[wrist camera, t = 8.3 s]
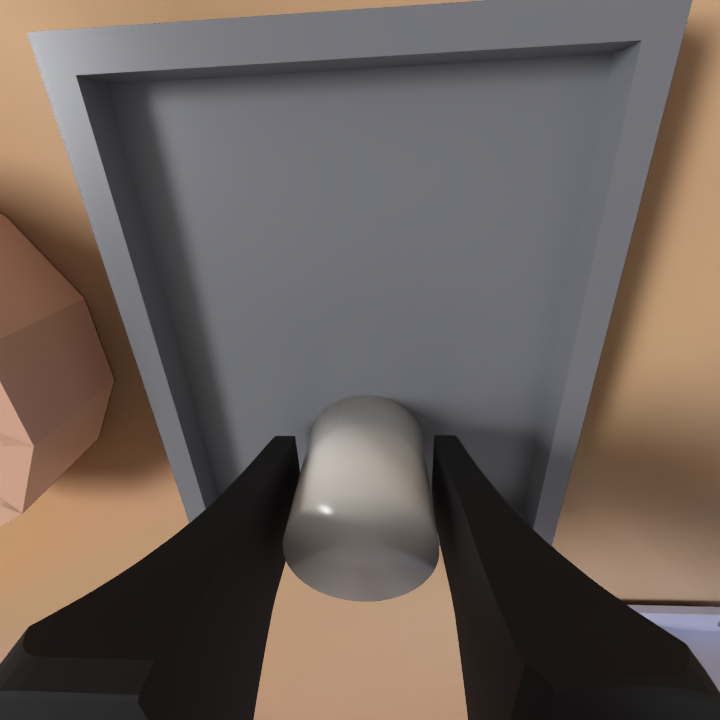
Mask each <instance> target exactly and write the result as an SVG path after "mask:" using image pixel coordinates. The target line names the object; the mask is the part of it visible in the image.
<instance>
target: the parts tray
mask: <svg viewBox="0 0 720 720" xmlns="http://www.w3.org/2000/svg"><path fill="white" fill-rule="evenodd" d="M691 4H692V0H485V1H470V2H456V3H441V4H427V5H412V6H398V7H384V8H369V9H355V10H340V11H326V12H312V13H297V14H283V15H268V16H254V17H239V18H225V19H211V20H196V21H182V22H167V23H153V24H139V25H124V26H110V27H95V28H81V29H66V30H52V31H38V32H27V34H28V37H29V40H30V43H31V46H32V49H33V52H34V55H35V58H36V61H37V64H38V67H39V70H40V73H41V76H42V79H43V82H44V85H45V88H46V91H47V94H48V98H49V101H50V104H51V107H52V110H53V113H54V116H55V119H56V122H57V125H58V128H59V131H60V134H61V137H62V140H63V143H64V146H65V149H66V152H67V155H68V158H69V161H70V164H71V167H72V170H73V173H74V176H75V179H76V182H77V185H78V188H79V191H80V194H81V197H82V200H83V203H84V206H85V209H86V212H87V215H88V218H89V221H90V224H91V227H92V230H93V233H94V236H95V239H96V242H97V245H98V248H99V251H100V254H101V257H102V260H103V263H104V266H105V270H106V273H107V276H108V279H109V282H110V285H111V288H112V291H113V294H114V297H115V300H116V303H117V306H118V309H119V312H120V315H121V318H122V321H123V324H124V327H125V330H126V333H127V336H128V339H129V342H130V345H131V348H132V351H133V354H134V357H135V360H136V363H137V366H138V369H139V372H140V375H141V378H142V381H143V384H144V387H145V390H146V393H147V396H148V399H149V402H150V405H151V408H152V411H153V414H154V417H155V420H156V423H157V426H158V429H159V432H160V435H161V438H162V441H163V445H164V448H165V451H166V454H167V457H168V460H169V463H170V466H171V469H172V472H173V475H174V478H175V481H176V484H177V487H178V490H179V493H180V496H181V499H182V502H183V505H184V508H185V511H186V514H187V517H188V520H189V523H190V522H192V521H193V520H194V519H195V518H196V517H197V516H199V515H200V514H201V513H202V512H203V511H204V510H205V509H206V508H207V507H208V506H209V505H210V504H212V503H213V502H214V501H215V500H216V499H217V498H218V497H219V496H220V495H221V494H222V493H223V492H224V491H225V490H226V489H227V488H228V487H229V486H230V485H231V484H232V483H233V482H234V481H235V480H236V479H237V477H238V476H239V475H240V474H241V473H242V472H243V471H244V470H245V469H246V468H247V467H248V466H249V465H250V463H251V462H252V461H253V460H254V459H255V458H256V457H257V456H258V454H259V453H260V452H261V451H262V450H263V449H264V448H265V446H266V445H267V444H268V443H269V442H270V441H271V440H272V439H273V438H274V437H275V436H295V438H296V446H297V453H298V460H299V467H300V472H301V468H302V464H303V460H304V457H305V453H306V449H307V445H308V441H309V437H310V433H311V430H312V426H313V424H314V422H315V420H316V418H317V417H318V415H319V414H320V413H321V412H322V411H323V410H324V409H325V408H327V407H328V406H329V405H331V404H332V403H334V402H336V401H338V400H341V399H343V398H347V397H351V396H356V395H373V396H379V397H383V398H387V399H389V400H392V401H394V402H396V403H398V404H400V405H401V406H403V407H404V408H405V409H407V410H408V411H409V412H410V413H411V414H412V415H413V417H414V418H415V419H416V421H417V422H418V424H419V426H420V429H421V432H422V437H423V444H424V450H425V457H426V464H427V471H428V477H429V484H430V491H431V498H432V488H431V486H432V468H433V449H434V435H456V436H457V437H458V438H459V440H460V441H461V443H462V444H463V446H464V447H465V449H466V450H467V452H468V453H469V455H470V456H471V458H472V459H473V460H474V462H475V463H476V464H477V466H478V467H479V468H480V470H481V471H482V472H483V474H484V475H485V476H486V477H487V479H488V480H489V481H490V482H491V484H492V485H493V486H494V487H495V488H496V490H497V491H498V492H499V493H500V494H501V496H502V497H503V498H504V499H505V500H506V501H507V502H508V503H509V505H510V506H511V507H512V508H513V509H514V510H515V511H516V512H517V513H518V514H519V515H520V516H521V517H522V518H523V520H524V521H525V522H526V523H527V524H528V525H529V526H530V527H531V528H532V529H534V530H535V531H536V532H537V533H538V534H539V535H540V536H541V537H542V538H543V539H544V540H545V541H546V542H547V543H548V544H550V545H551V546H552V542H553V538H554V534H555V530H556V527H557V523H558V519H559V515H560V511H561V507H562V503H563V499H564V496H565V492H566V488H567V484H568V480H569V476H570V472H571V469H572V465H573V461H574V457H575V453H576V449H577V445H578V441H579V438H580V434H581V430H582V426H583V422H584V418H585V414H586V410H587V407H588V403H589V399H590V395H591V391H592V387H593V383H594V379H595V376H596V372H597V368H598V364H599V360H600V356H601V352H602V348H603V345H604V341H605V337H606V333H607V329H608V325H609V321H610V317H611V314H612V310H613V306H614V302H615V298H616V294H617V290H618V287H619V283H620V279H621V275H622V271H623V267H624V263H625V259H626V256H627V252H628V248H629V244H630V240H631V236H632V232H633V228H634V225H635V221H636V217H637V213H638V209H639V205H640V201H641V197H642V194H643V190H644V186H645V182H646V178H647V174H648V170H649V166H650V163H651V159H652V155H653V151H654V147H655V143H656V139H657V136H658V132H659V128H660V124H661V120H662V116H663V112H664V108H665V105H666V101H667V97H668V93H669V89H670V85H671V81H672V77H673V74H674V70H675V66H676V62H677V58H678V54H679V50H680V46H681V43H682V39H683V35H684V31H685V27H686V23H687V19H688V15H689V12H690V8H691ZM432 504H433V498H432ZM433 511H434V508H433ZM434 518H435V516H434ZM435 525H436V523H435ZM436 532H437V528H436ZM437 538H438V545H440V541H439V537H438V532H437Z"/></svg>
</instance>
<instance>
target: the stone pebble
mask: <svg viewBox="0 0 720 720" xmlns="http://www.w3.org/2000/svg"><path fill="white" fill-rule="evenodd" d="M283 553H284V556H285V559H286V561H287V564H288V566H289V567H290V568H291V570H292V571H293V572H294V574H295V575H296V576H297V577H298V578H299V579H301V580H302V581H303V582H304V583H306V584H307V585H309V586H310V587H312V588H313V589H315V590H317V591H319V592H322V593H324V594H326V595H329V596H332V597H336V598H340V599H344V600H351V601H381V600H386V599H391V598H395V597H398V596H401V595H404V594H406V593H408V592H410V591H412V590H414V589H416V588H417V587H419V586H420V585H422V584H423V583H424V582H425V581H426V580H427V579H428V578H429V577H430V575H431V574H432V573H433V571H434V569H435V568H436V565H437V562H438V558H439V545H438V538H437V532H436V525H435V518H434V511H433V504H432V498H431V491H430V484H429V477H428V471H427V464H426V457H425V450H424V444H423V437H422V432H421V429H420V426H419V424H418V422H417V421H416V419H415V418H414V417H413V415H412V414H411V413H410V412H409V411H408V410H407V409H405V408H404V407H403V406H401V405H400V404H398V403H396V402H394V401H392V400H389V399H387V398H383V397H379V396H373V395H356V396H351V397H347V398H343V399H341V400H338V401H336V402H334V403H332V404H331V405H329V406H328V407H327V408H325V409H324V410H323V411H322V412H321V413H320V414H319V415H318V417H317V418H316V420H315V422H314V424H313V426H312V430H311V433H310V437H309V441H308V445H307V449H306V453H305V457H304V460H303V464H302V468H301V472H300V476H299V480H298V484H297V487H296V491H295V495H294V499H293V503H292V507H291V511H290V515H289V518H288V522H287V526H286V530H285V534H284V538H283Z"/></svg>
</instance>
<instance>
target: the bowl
mask: <svg viewBox="0 0 720 720" xmlns="http://www.w3.org/2000/svg"><path fill="white" fill-rule="evenodd" d="M113 382H114V377H113V375H112V372H111V369H110V367H109V364H108V361H107V358H106V356H105V353H104V350H103V348H102V345H101V342H100V339H99V337H98V334H97V331H96V328H95V326H94V323H93V320H92V318H91V315H90V312H89V309H88V307H87V304H86V301H85V299H84V298H83V297H82V296H81V295H80V294H79V292H78V291H77V290H76V289H75V288H74V287H73V286H72V285H71V284H70V283H69V282H68V281H67V280H66V279H65V278H64V277H63V276H62V275H61V274H60V273H59V272H58V271H57V269H56V268H55V267H54V266H53V265H52V264H51V263H50V262H49V261H48V260H47V259H46V258H45V257H44V256H43V255H42V254H41V253H40V252H39V251H38V250H37V249H36V247H35V246H34V245H33V244H32V243H31V242H30V241H29V240H28V239H27V238H26V237H25V236H24V235H23V234H22V233H21V232H20V231H19V230H18V229H17V228H16V227H15V225H14V224H13V223H12V222H11V221H10V220H9V219H8V218H7V217H6V216H4V215H2V214H0V526H2V525H3V524H5V523H7V522H8V521H10V520H12V519H14V518H15V517H17V516H19V515H21V514H22V513H23V512H24V511H25V510H26V509H27V508H28V507H30V506H31V505H32V504H33V503H34V502H35V501H36V500H37V499H38V498H39V497H40V496H41V495H42V494H43V493H44V492H45V491H46V490H47V489H48V488H49V487H50V486H51V485H52V484H53V483H54V482H55V481H56V480H57V479H58V478H59V477H60V476H61V475H62V474H63V473H64V472H65V471H66V470H67V469H68V468H69V467H70V466H71V465H72V464H73V463H74V462H75V461H76V460H77V459H78V458H79V457H80V456H81V455H82V454H83V453H84V452H85V451H86V450H87V449H88V448H89V447H90V446H91V445H92V444H93V443H94V442H95V441H96V440H97V439H98V438H99V435H100V431H101V427H102V424H103V420H104V416H105V412H106V409H107V405H108V401H109V397H110V394H111V390H112V386H113Z"/></svg>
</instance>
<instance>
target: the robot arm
mask: <svg viewBox="0 0 720 720" xmlns="http://www.w3.org/2000/svg"><path fill="white" fill-rule="evenodd" d="M299 476H300V467H299V460H298V453H297V446H296V438H295V436H275V437H274V438H273V439H272V440H271V441H270V442H269V443H268V444H267V445H266V446H265V448H264V449H263V450H262V451H261V452H260V453H259V454H258V456H257V457H256V458H255V459H254V460H253V461H252V462H251V463H250V465H249V466H248V467H247V468H246V469H245V470H244V471H243V472H242V473H241V474H240V475H239V476H238V477H237V479H236V480H235V481H234V482H233V483H232V484H231V485H230V486H229V487H228V488H227V489H226V490H225V491H224V492H223V493H222V494H221V495H220V496H219V497H218V498H217V499H216V500H215V501H214V502H213V503H212V504H210V505H209V506H208V507H207V508H206V509H205V510H204V511H203V512H202V513H201V514H200V515H199V516H197V517H196V518H195V519H194V520H193V521H192V522H190V523H189V524H188V525H187V526H186V527H184V528H183V529H182V530H181V531H179V532H178V533H177V534H176V535H174V536H173V537H172V538H171V539H169V540H168V541H166V542H165V543H164V544H162V545H161V546H160V547H158V548H157V549H155V550H154V551H153V552H151V553H150V554H149V555H147V556H146V557H144V558H143V559H142V560H140V561H139V562H137V563H136V564H135V565H133V566H132V567H130V568H128V569H127V570H125V571H124V572H122V573H121V574H119V575H118V576H116V577H115V578H113V579H111V580H110V581H108V582H107V583H105V584H103V585H102V586H100V587H99V588H97V589H95V590H94V591H92V592H90V593H89V594H87V595H85V596H84V597H82V598H80V599H78V600H77V601H75V602H73V603H71V604H69V605H68V606H66V607H64V608H62V609H60V610H59V611H57V612H55V613H53V614H51V615H50V616H48V617H46V618H44V619H42V620H41V621H39V622H37V623H35V624H33V625H31V626H29V627H28V629H27V630H26V631H25V632H24V634H23V635H22V636H21V638H20V639H19V640H18V641H17V643H16V644H15V645H14V647H13V648H12V649H11V651H10V652H9V653H8V655H7V656H6V657H5V659H4V660H3V661H2V663H1V664H0V720H253V718H254V712H255V705H256V699H257V693H258V687H259V681H260V675H261V670H262V664H263V658H264V652H265V647H266V641H267V636H268V631H269V625H270V620H271V615H272V610H273V605H274V601H275V597H276V593H277V590H278V586H279V583H280V579H281V576H282V572H283V569H284V565H285V562H286V559H285V556H284V553H283V538H284V534H285V530H286V526H287V522H288V518H289V515H290V511H291V507H292V503H293V499H294V495H295V491H296V487H297V484H298V480H299ZM431 488H432V498H433V508H434V516H435V523H436V528H437V532H438V537H439V541H440V546H441V550H442V555H443V559H444V564H445V568H446V573H447V577H448V582H449V586H450V591H451V595H452V600H453V606H454V611H455V618H456V625H457V633H458V641H459V648H460V656H461V664H462V672H463V680H464V688H465V696H466V705H467V714H468V720H720V607H708V606H662V605H626V604H625V603H623V602H622V601H621V600H619V599H618V598H616V597H615V596H614V595H612V594H611V593H609V592H608V591H607V590H605V589H604V588H603V587H601V586H600V585H598V584H597V583H596V582H594V581H593V580H592V579H591V578H589V577H588V576H587V575H586V574H584V573H583V572H582V571H581V570H579V569H578V568H577V567H576V566H574V565H573V564H572V563H571V562H570V561H568V560H567V559H566V558H565V557H563V556H562V555H561V554H560V553H559V552H557V551H556V550H555V549H554V548H553V547H552V546H551V545H550V544H548V543H547V542H546V541H545V540H544V539H543V538H542V537H541V536H540V535H539V534H538V533H537V532H536V531H535V530H534V529H532V528H531V527H530V526H529V525H528V524H527V523H526V522H525V521H524V520H523V518H522V517H521V516H520V515H519V514H518V513H517V512H516V511H515V510H514V509H513V508H512V507H511V506H510V505H509V503H508V502H507V501H506V500H505V499H504V498H503V497H502V496H501V494H500V493H499V492H498V491H497V490H496V488H495V487H494V486H493V485H492V484H491V482H490V481H489V480H488V479H487V477H486V476H485V475H484V474H483V472H482V471H481V470H480V468H479V467H478V466H477V464H476V463H475V462H474V460H473V459H472V458H471V456H470V455H469V453H468V452H467V450H466V449H465V447H464V446H463V444H462V443H461V441H460V440H459V438H458V437H457V436H456V435H434V449H433V468H432V486H431Z"/></svg>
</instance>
